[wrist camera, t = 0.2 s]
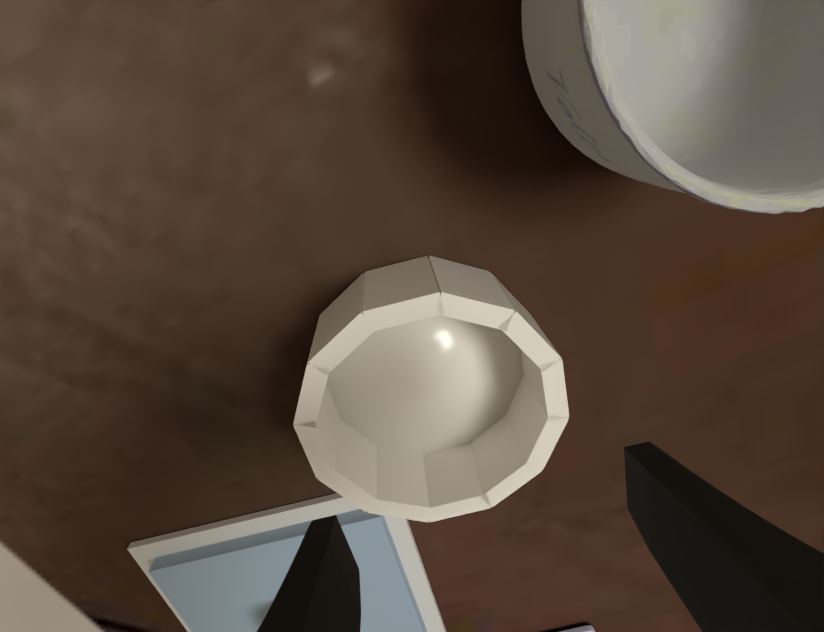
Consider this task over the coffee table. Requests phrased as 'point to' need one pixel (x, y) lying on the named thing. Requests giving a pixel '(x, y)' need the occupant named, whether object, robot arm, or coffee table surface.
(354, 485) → the bowl
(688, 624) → the coffee table surface
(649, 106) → the teacup
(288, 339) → the coffee table surface
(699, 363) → the coffee table surface
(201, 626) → the cover
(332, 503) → the mat
